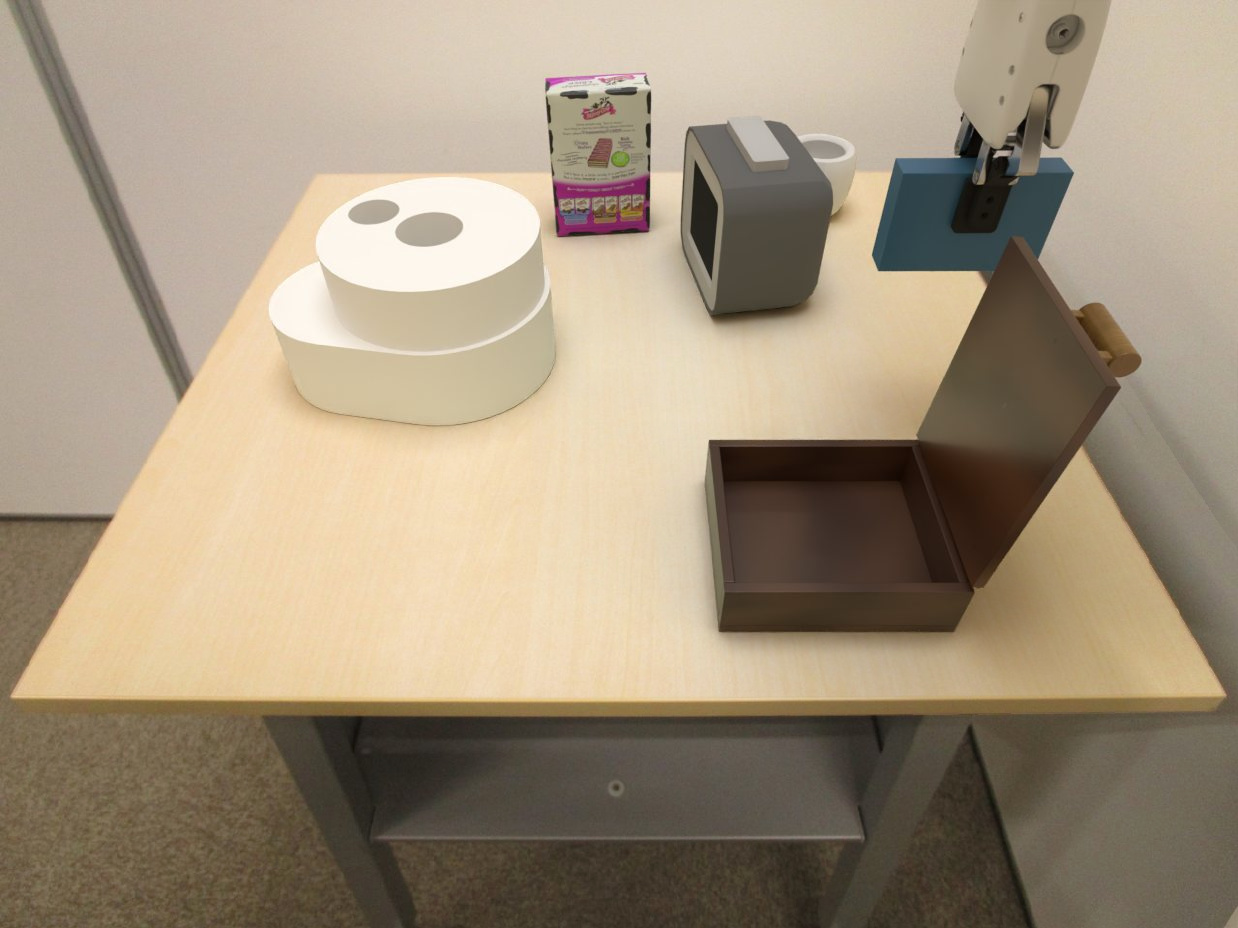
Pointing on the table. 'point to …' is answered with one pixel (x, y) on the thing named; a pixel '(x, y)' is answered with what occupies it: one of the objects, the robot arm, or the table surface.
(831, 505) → the box
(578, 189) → the candy bar box
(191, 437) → the table surface
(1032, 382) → the lid
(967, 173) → the blue hardcover book
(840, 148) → the mug
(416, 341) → the container
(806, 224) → the alarm clock
